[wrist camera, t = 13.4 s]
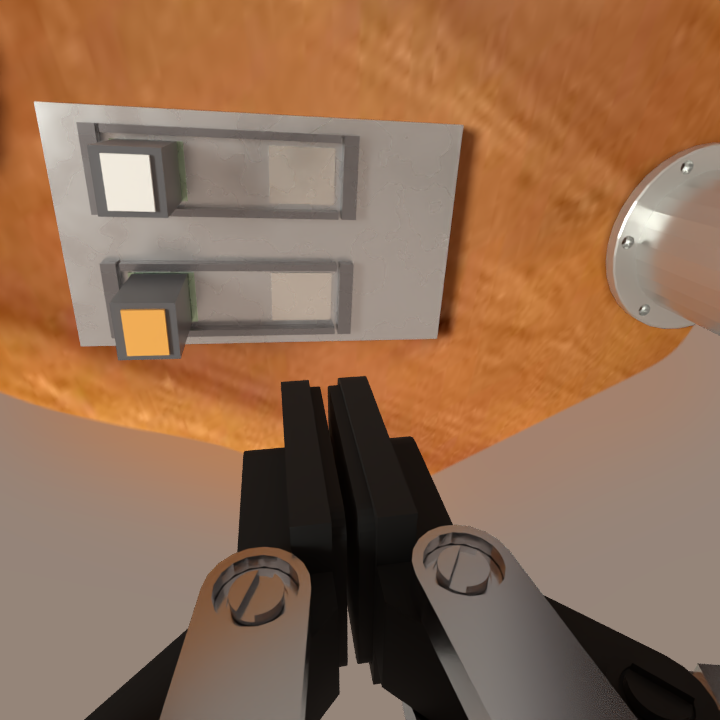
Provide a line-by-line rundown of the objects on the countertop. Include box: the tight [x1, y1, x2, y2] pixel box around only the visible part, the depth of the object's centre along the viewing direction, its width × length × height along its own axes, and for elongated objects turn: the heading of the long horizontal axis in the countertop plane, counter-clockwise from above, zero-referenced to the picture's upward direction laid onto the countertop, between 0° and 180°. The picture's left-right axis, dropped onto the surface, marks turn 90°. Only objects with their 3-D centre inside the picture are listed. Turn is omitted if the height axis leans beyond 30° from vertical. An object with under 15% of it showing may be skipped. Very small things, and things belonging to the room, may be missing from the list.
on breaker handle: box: [87, 138, 182, 218], centre depth 25 cm, size 3×3×5 cm
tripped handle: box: [109, 274, 192, 360], centre depth 28 cm, size 3×3×5 cm
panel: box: [34, 102, 463, 346], centre depth 30 cm, size 22×13×2 cm, turn 87°
